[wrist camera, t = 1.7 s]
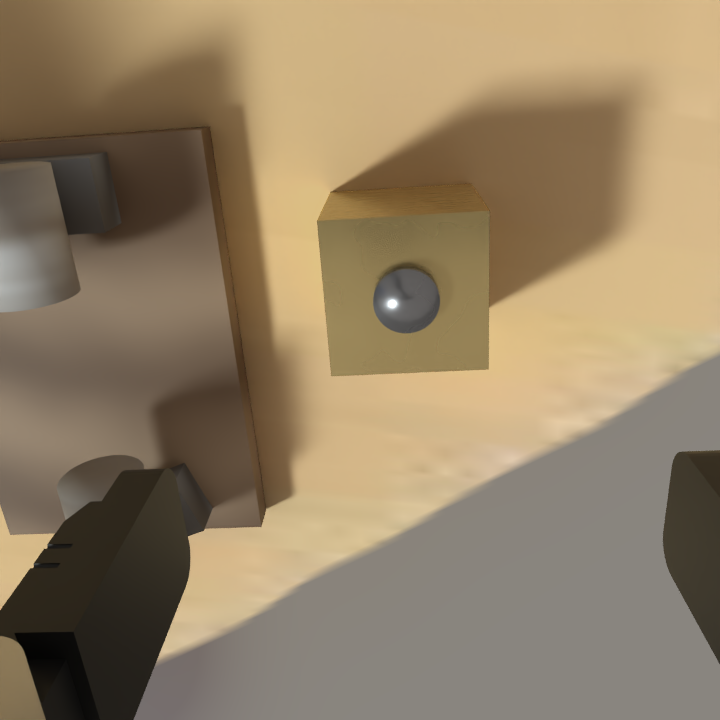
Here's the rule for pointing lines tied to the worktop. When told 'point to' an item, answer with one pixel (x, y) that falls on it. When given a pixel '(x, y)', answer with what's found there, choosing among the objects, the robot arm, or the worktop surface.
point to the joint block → (406, 279)
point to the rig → (119, 330)
